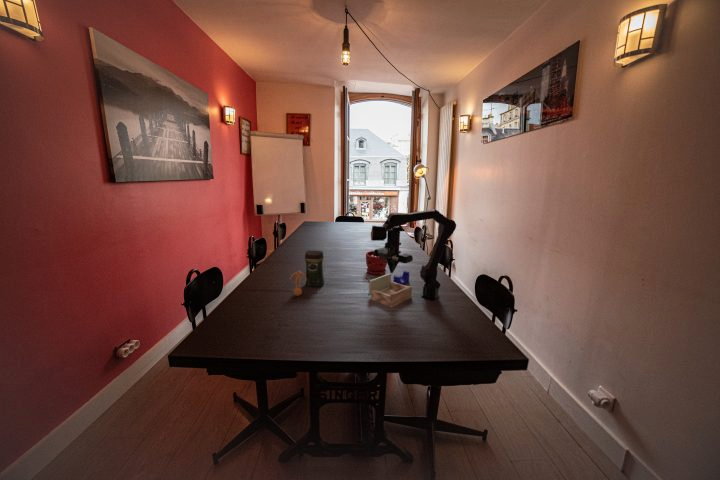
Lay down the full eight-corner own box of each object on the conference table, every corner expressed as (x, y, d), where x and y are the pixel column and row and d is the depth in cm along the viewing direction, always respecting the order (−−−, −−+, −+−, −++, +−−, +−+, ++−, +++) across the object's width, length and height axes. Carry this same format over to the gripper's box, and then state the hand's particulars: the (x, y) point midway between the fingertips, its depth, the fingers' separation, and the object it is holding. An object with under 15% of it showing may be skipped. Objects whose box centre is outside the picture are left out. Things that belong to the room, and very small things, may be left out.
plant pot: (361, 270, 181) (362, 251, 179) (380, 268, 187) (381, 249, 184) (371, 277, 170) (372, 257, 167) (391, 274, 175) (392, 255, 173)
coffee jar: (325, 282, 160) (325, 249, 156) (322, 287, 153) (321, 253, 149) (307, 281, 161) (307, 248, 157) (303, 286, 154) (303, 252, 150)
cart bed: (411, 297, 143) (412, 286, 142) (391, 307, 132) (392, 295, 131) (390, 290, 151) (391, 279, 150) (370, 299, 140) (371, 287, 139)
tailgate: (390, 287, 151) (391, 273, 150) (370, 296, 140) (371, 281, 138) (388, 286, 152) (388, 272, 151) (367, 295, 141) (368, 280, 139)
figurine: (288, 296, 141) (287, 272, 138) (291, 291, 147) (290, 268, 144) (305, 297, 141) (305, 273, 138) (307, 292, 147) (307, 269, 144)
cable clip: (401, 280, 167) (402, 270, 166) (408, 282, 165) (409, 271, 163) (390, 286, 158) (391, 275, 156) (398, 288, 155) (398, 277, 154)
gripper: (366, 239, 136) (365, 271, 140) (399, 247, 124) (397, 282, 127) (381, 236, 144) (380, 266, 148) (414, 243, 132) (412, 276, 135)
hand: (391, 272), depth 139 cm, fingers closed
